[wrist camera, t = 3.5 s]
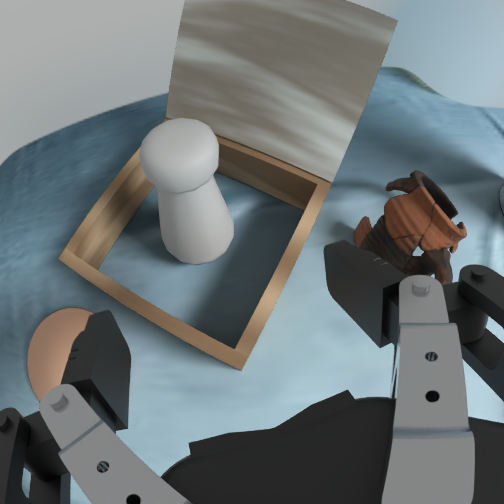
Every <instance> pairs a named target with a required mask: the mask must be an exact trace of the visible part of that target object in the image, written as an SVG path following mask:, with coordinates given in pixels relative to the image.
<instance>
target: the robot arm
mask: <svg viewBox="0 0 504 504" xmlns="http://www.w3.org/2000/svg"><path fill="white" fill-rule="evenodd" d="M500 203H501V207H502V211H503V213H504V185H503V186H502V187H501V189H500ZM324 260H325V270H326V280H327V287H328V290H329V292H330V294H331V296H332V298H333V299H334V300H335V301H336V302H337V303H338V304H339V305H340V306H341V307H342V308H343V309H344V310H345V311H346V313H347V314H348V315H349V316H350V317H351V318H352V319H353V320H354V321H355V322H356V323H357V324H358V325H359V326H360V327H361V328H362V330H363V331H364V332H365V333H366V334H367V335H368V336H369V337H370V338H371V339H372V340H373V341H374V342H375V343H376V345H377V346H378V347H379V348H381V347H384V346H386V345H388V344H390V343H393V344H394V354H393V367H392V378H391V388H390V397H389V398H388V397H366V398H358V399H354V397H353V396H352V395H351V393H350V392H349V390H346V391H344V392H341V393H339V394H337V395H334V396H332V397H330V398H327V399H325V400H322V401H320V402H317V403H315V404H312V405H310V406H309V407H307V408H306V409H304V410H303V411H301V412H300V413H298V414H296V415H295V416H293V417H292V418H290V419H289V420H287V421H285V422H284V423H282V424H280V425H279V426H277V427H275V428H272V429H265V430H256V431H245V432H233V433H226V434H222V435H219V436H215V437H211V438H207V439H203V440H199V441H195V442H191V443H189V448H190V454H191V455H189V456H187V457H185V458H183V459H182V460H180V461H178V462H177V463H175V464H174V465H173V466H171V467H170V468H169V469H168V470H167V471H166V472H165V473H164V474H163V475H162V476H161V477H159V476H158V475H157V474H156V473H155V472H154V471H153V470H151V469H150V468H149V467H148V466H147V465H146V464H145V463H144V462H143V461H142V460H141V459H140V458H139V457H138V456H137V455H135V454H134V453H133V452H132V451H131V450H130V449H129V448H128V447H127V446H126V445H125V444H124V443H123V441H122V440H121V439H120V438H119V437H118V436H117V435H116V431H117V430H123V429H128V408H129V385H130V369H131V354H130V350H129V347H128V345H127V342H126V341H125V339H124V337H123V335H122V333H121V331H120V329H119V327H118V325H117V323H116V321H115V319H114V317H113V315H112V313H111V312H110V311H109V310H106V311H102V312H99V313H95V314H92V315H89V317H88V320H87V323H86V326H85V330H84V331H81V332H80V333H79V335H78V336H77V337H76V338H75V340H74V341H73V344H72V347H71V350H70V351H71V353H69V356H68V361H67V363H66V366H65V370H64V373H63V376H62V380H61V384H60V385H58V386H56V387H54V388H52V389H51V390H49V391H48V392H47V393H46V394H45V395H44V397H43V398H42V400H41V402H40V407H39V409H40V411H38V412H35V413H33V414H31V415H29V416H26V417H24V418H23V416H22V415H21V414H20V413H19V412H18V411H17V410H16V409H15V408H6V409H3V410H2V411H0V504H70V479H71V475H72V477H73V478H74V480H75V481H76V482H77V484H78V485H79V487H80V488H81V490H82V491H83V492H84V494H85V495H86V496H87V498H88V499H89V500H90V502H91V503H92V504H504V423H499V422H493V421H488V420H483V419H478V418H473V417H468V409H467V395H466V385H465V376H464V367H463V360H464V361H465V362H466V363H467V364H468V365H469V366H470V367H471V368H472V369H473V370H474V371H475V372H476V373H477V374H478V375H479V376H480V377H481V378H482V379H483V380H484V381H485V382H486V383H487V384H488V385H489V386H490V387H491V389H492V390H493V391H494V392H495V393H496V394H497V395H498V396H499V397H500V398H501V399H502V400H503V401H504V343H503V342H502V341H501V340H499V339H498V338H497V337H496V336H495V335H494V334H492V333H491V332H490V331H489V330H488V329H487V328H486V324H487V321H488V317H491V318H492V319H493V320H494V321H496V322H497V323H498V324H499V325H501V326H502V327H503V329H504V277H503V276H501V275H500V274H498V273H497V272H495V271H493V270H492V269H490V268H488V267H486V266H483V265H467V266H465V267H463V268H462V269H461V270H460V274H459V281H458V282H454V283H449V284H444V285H441V283H440V282H439V281H438V280H436V279H435V278H433V277H430V276H425V275H414V276H409V277H408V276H407V275H406V274H404V273H403V272H401V271H400V270H398V269H397V268H395V267H394V266H392V265H391V264H389V263H387V262H386V261H385V260H383V259H381V258H380V257H379V256H377V255H376V254H374V253H373V252H371V251H367V250H364V249H360V248H359V249H357V248H355V247H354V246H352V245H351V244H350V243H348V242H347V241H345V240H342V241H339V242H335V243H332V244H329V245H326V246H325V247H324ZM462 359H463V360H462ZM23 468H25V469H27V470H28V471H29V472H30V473H31V482H30V492H29V499H28V498H27V497H26V496H25V494H24V492H23V490H22V476H23Z"/></svg>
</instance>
